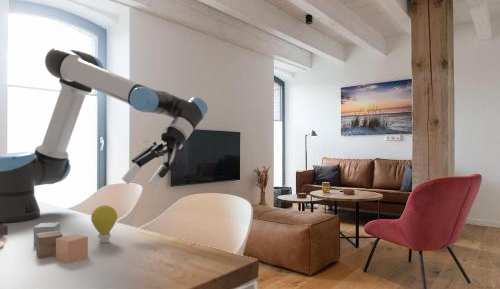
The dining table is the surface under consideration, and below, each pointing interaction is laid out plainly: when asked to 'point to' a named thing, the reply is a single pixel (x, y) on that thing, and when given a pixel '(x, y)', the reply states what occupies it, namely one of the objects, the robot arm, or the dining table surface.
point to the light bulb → (104, 221)
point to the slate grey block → (45, 228)
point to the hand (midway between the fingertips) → (137, 183)
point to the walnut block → (47, 243)
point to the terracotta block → (71, 248)
